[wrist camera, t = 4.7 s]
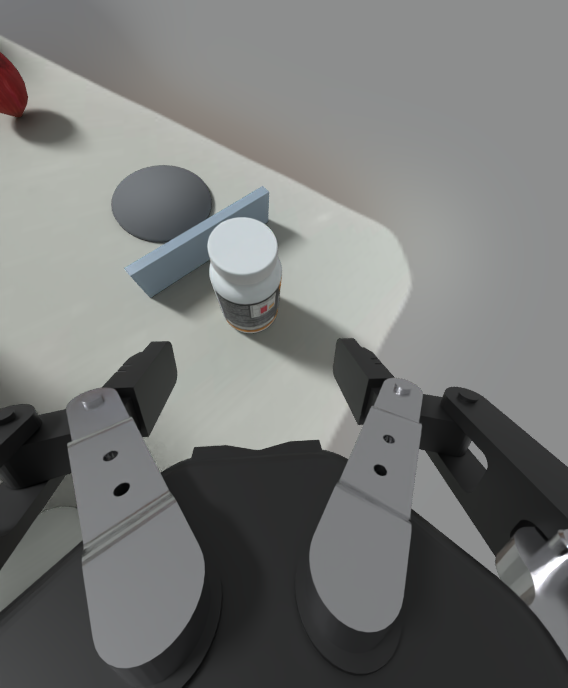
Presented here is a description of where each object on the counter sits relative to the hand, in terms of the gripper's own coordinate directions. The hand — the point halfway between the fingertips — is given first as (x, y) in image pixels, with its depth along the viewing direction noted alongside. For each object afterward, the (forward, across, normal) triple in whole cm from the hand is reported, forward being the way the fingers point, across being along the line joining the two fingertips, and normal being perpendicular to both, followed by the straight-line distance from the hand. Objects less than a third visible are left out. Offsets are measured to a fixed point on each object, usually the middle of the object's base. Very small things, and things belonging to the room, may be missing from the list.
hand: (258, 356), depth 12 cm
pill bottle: (+14, -1, -2) cm, 14 cm away
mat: (+24, -11, +8) cm, 27 cm away
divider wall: (+19, -5, +2) cm, 20 cm away
